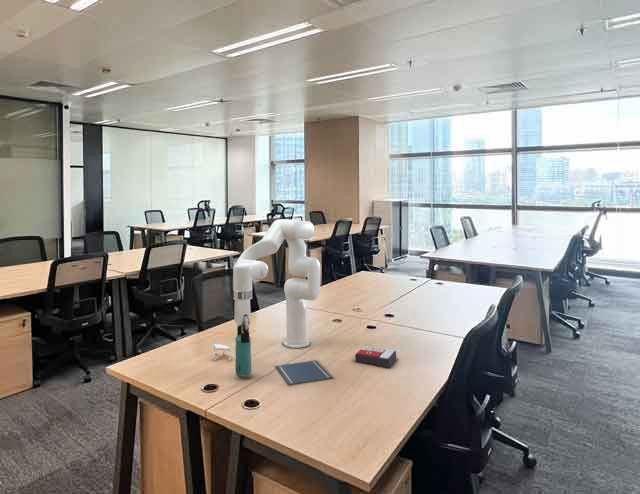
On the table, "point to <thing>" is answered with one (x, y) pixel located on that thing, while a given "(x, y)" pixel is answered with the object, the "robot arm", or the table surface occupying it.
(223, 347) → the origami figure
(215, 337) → the table surface
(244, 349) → the beverage bottle
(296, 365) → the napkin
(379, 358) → the black buttoned block
